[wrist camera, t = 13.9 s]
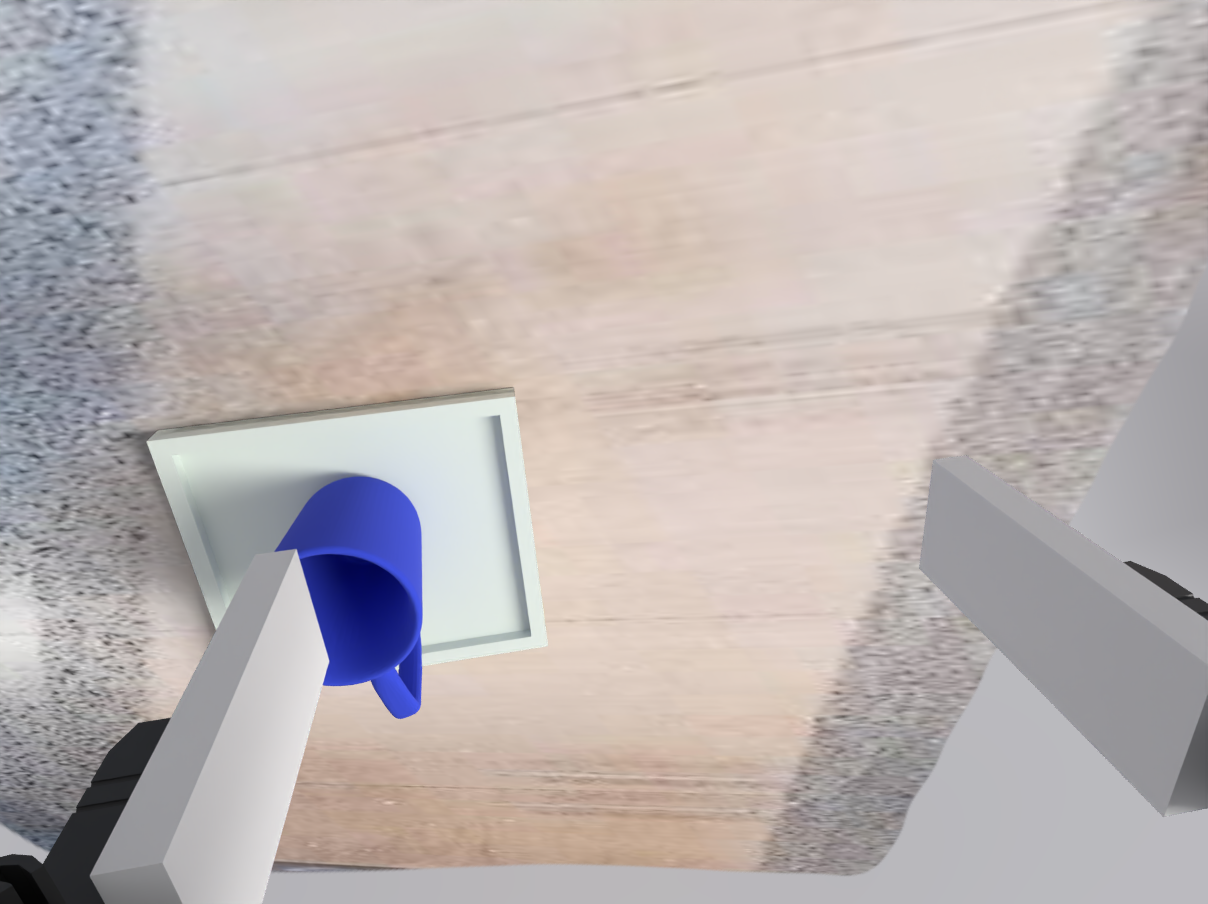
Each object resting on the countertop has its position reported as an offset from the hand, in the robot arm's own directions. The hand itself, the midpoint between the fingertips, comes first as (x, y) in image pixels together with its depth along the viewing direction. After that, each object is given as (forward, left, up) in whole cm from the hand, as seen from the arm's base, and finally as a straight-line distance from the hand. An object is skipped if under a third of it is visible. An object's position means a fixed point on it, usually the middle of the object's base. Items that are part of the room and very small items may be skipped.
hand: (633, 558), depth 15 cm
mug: (+15, -12, -28) cm, 34 cm away
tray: (+15, -12, -29) cm, 35 cm away
